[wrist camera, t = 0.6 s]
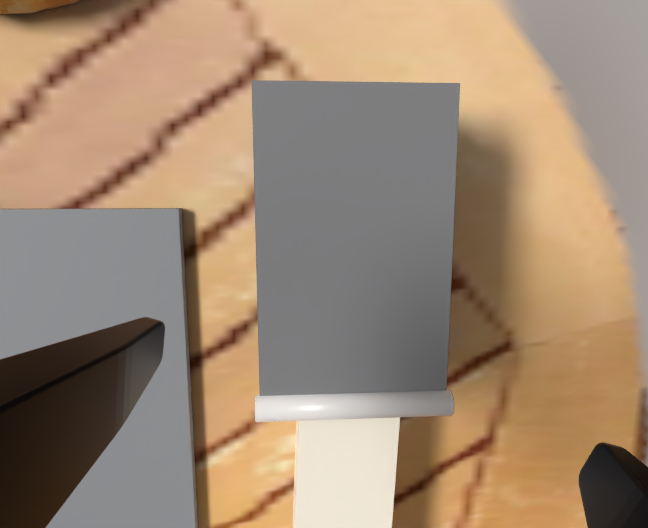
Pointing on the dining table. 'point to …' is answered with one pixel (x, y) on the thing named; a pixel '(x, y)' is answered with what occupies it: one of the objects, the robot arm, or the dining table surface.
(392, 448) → the white block
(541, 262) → the dining table surface
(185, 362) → the mat
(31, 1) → the pastry
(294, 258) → the block
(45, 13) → the dining table surface
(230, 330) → the dining table surface
